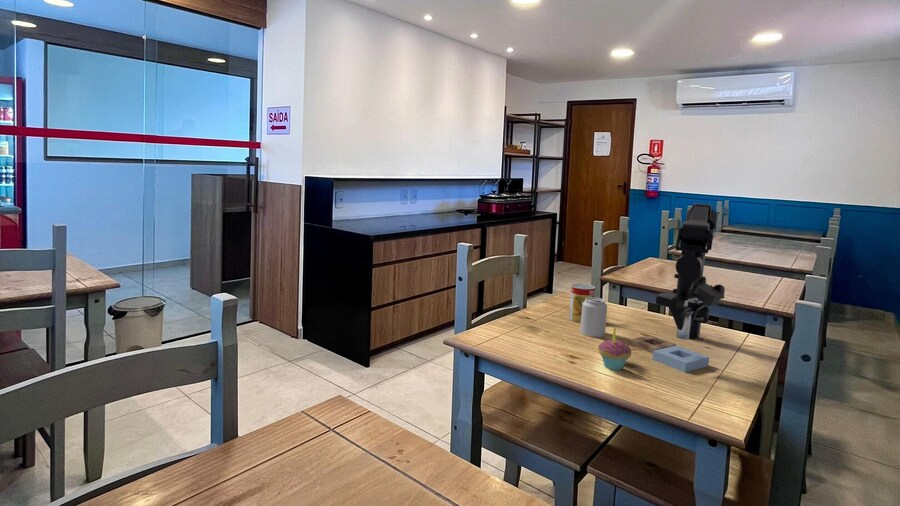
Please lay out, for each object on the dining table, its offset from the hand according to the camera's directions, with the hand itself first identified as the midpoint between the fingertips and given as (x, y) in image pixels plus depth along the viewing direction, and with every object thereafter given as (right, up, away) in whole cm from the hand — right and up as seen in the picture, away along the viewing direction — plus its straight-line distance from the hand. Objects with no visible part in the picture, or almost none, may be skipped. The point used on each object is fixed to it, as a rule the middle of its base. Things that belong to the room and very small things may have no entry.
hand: (683, 328), depth 142 cm
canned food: (-17, -3, +42) cm, 46 cm away
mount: (-3, -8, +14) cm, 16 cm away
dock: (0, -10, +2) cm, 11 cm away
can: (-18, -6, +25) cm, 31 cm away
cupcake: (-19, -10, 0) cm, 22 cm away
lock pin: (0, -2, 0) cm, 2 cm away
